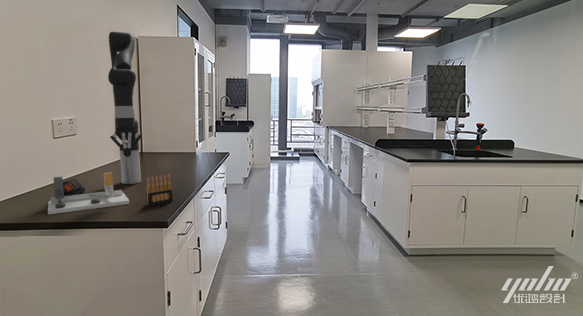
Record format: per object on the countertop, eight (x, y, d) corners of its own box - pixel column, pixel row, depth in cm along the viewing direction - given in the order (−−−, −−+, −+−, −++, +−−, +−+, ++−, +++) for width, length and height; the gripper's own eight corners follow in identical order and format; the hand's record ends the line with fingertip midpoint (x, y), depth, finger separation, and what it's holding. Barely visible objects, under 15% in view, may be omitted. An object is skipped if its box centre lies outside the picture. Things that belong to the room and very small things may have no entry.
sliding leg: (104, 191, 159) (103, 172, 157) (112, 190, 160) (111, 172, 159) (107, 197, 149) (106, 177, 148) (116, 196, 151) (114, 176, 150)
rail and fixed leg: (51, 202, 148) (49, 177, 147) (121, 193, 162) (120, 171, 161) (51, 208, 139) (48, 182, 138) (125, 199, 153) (124, 175, 151)
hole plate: (48, 204, 150) (48, 198, 150) (123, 195, 165) (123, 190, 164) (48, 214, 137) (47, 207, 136) (129, 203, 151) (129, 197, 151)
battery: (61, 202, 160) (73, 193, 159) (50, 187, 160) (62, 178, 159) (79, 198, 171) (90, 189, 171) (69, 184, 172) (80, 175, 171)
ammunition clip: (148, 205, 149) (146, 176, 147) (146, 205, 150) (144, 176, 148) (172, 201, 156) (171, 173, 154) (170, 200, 158) (169, 172, 156)
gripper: (139, 116, 164) (141, 154, 167) (106, 116, 157) (109, 157, 160) (142, 116, 158) (145, 156, 160) (108, 117, 151) (111, 159, 153)
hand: (127, 156), depth 160 cm, fingers closed
